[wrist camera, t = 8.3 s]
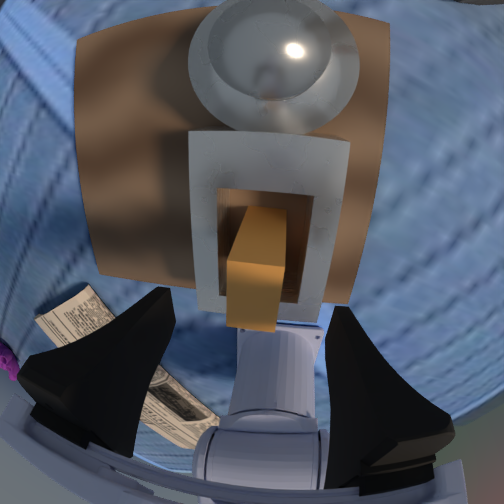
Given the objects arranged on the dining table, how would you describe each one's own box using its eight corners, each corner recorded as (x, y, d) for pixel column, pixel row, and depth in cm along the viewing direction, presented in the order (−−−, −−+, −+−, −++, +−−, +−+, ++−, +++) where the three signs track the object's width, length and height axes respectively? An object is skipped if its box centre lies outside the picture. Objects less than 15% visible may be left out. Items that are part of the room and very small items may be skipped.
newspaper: (252, 436, 40) (250, 449, 38) (171, 437, 46) (168, 448, 44) (93, 279, 26) (80, 294, 24) (36, 314, 32) (26, 325, 30)
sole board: (345, 292, 22) (347, 303, 21) (107, 265, 24) (99, 274, 23) (382, 28, 12) (389, 23, 11) (88, 41, 14) (77, 39, 12)
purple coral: (7, 340, 48) (-21, 341, 39) (18, 332, 43) (-15, 333, 34) (16, 380, 46) (-11, 383, 37) (30, 380, 41) (-3, 385, 32)
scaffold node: (317, 291, 21) (323, 351, 15) (206, 280, 21) (183, 334, 16) (348, 15, 11) (375, -22, 6) (207, 9, 12) (172, -28, 6)
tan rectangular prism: (280, 261, 20) (274, 332, 14) (245, 257, 20) (226, 326, 14) (286, 209, 18) (285, 267, 12) (248, 205, 18) (226, 260, 12)
